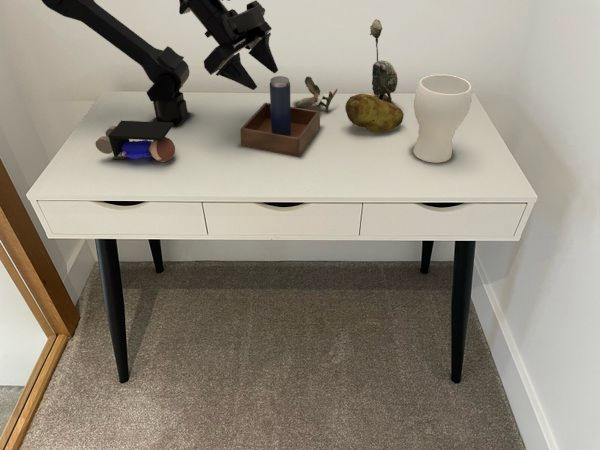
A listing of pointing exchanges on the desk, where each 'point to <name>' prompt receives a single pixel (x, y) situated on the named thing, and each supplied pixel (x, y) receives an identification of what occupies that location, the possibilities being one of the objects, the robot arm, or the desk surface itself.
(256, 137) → the desk bin
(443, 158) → the cup
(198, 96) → the desk surface
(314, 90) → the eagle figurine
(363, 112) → the potato
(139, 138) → the figurine character
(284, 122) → the can
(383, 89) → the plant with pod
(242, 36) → the robot arm
